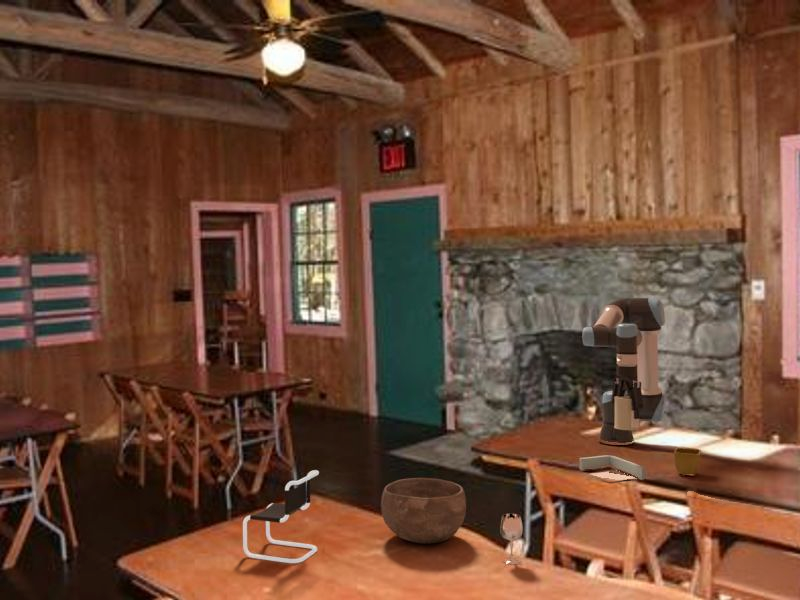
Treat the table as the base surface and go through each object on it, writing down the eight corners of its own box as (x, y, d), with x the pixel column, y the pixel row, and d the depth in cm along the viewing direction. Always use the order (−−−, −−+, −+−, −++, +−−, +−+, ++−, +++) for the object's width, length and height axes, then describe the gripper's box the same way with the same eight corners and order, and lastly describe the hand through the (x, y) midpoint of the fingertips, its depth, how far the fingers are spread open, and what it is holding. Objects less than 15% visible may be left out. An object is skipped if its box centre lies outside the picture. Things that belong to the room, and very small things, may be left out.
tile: (616, 472, 300) (616, 470, 300) (636, 479, 289) (636, 478, 289) (589, 475, 296) (589, 473, 296) (608, 483, 285) (608, 481, 285)
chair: (299, 565, 208) (298, 481, 207) (242, 557, 214) (241, 476, 213) (322, 549, 220) (321, 470, 219) (267, 541, 226) (266, 465, 225)
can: (609, 428, 297) (609, 396, 296) (621, 424, 303) (621, 393, 303) (632, 431, 290) (632, 398, 290) (644, 427, 297) (644, 395, 297)
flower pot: (701, 473, 298) (701, 449, 298) (699, 478, 290) (699, 454, 290) (676, 470, 302) (676, 447, 301) (673, 476, 294) (673, 452, 293)
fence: (610, 466, 310) (610, 454, 309) (645, 479, 289) (645, 467, 289) (579, 469, 305) (579, 458, 305) (612, 483, 284) (612, 471, 284)
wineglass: (498, 557, 211) (498, 513, 211) (519, 557, 212) (519, 512, 211) (503, 565, 206) (502, 520, 205) (525, 565, 206) (524, 519, 206)
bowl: (439, 560, 210) (439, 503, 210) (364, 544, 223) (363, 491, 223) (480, 534, 231) (479, 483, 230) (409, 521, 244) (408, 472, 243)
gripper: (601, 363, 305) (601, 421, 306) (637, 368, 285) (636, 431, 285) (617, 362, 308) (617, 420, 308) (654, 367, 288) (654, 429, 288)
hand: (626, 425), depth 297 cm, fingers closed on can, 9 cm apart
